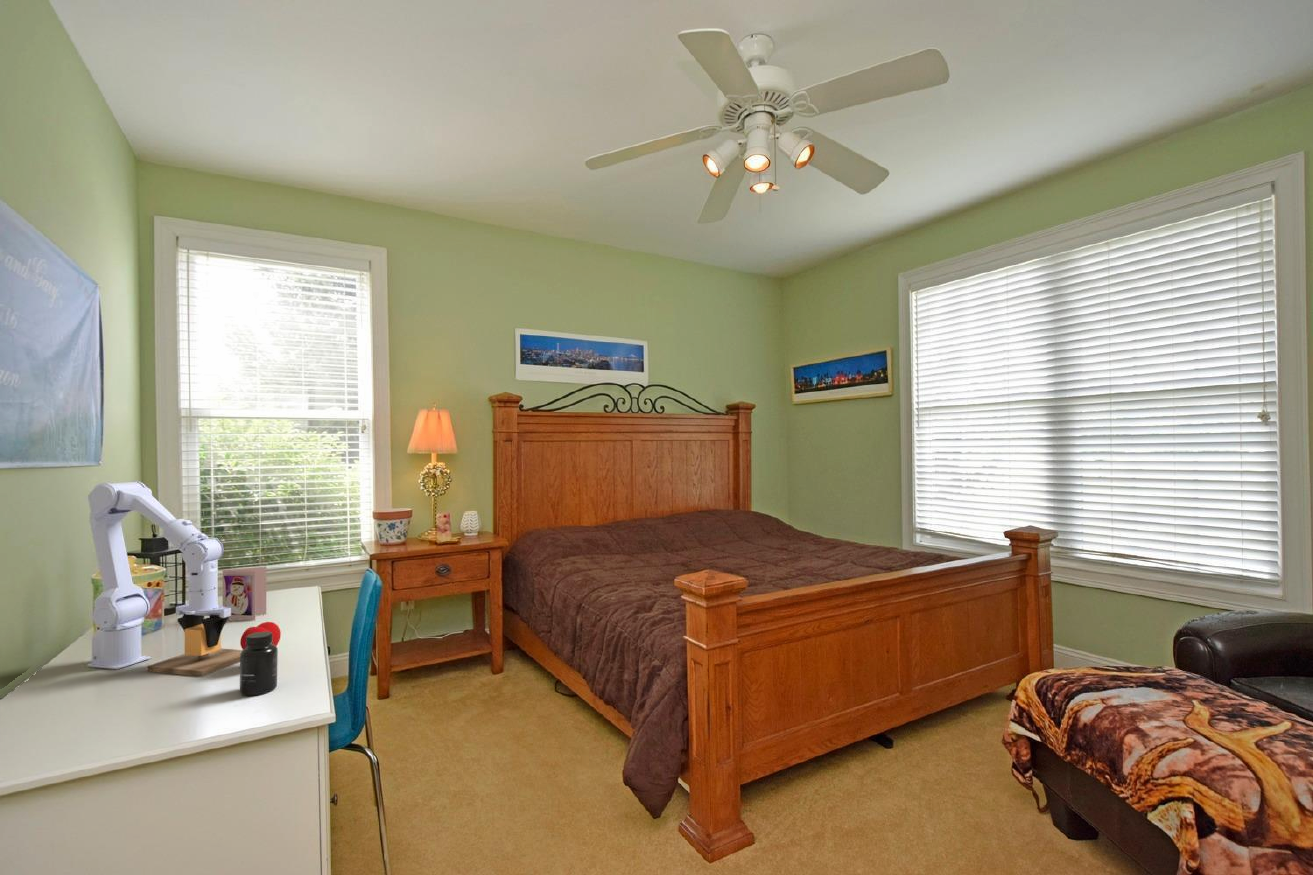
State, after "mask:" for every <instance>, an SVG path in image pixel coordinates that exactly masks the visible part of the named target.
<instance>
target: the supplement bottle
mask: <svg viewBox="0 0 1313 875" xmlns="http://www.w3.org/2000/svg"><path fill="white" fill-rule="evenodd" d="M272 638H273V634H272V632H257V633H252V634H249V635H248V636H246V646H247V647H246V648H245V649H244V650H243V649H242V650H243V651H242V652H241V654H240V662H239V694H240V695H242V696H245V697H257V696H261V695H265V694H268V693H270V692H272V691H274V690H276V688H277V686H278V664H279V663H278V662H279V661H278V660H279V659H278V658H279V657H278V654H279V651H278V647H277V646H275V645H274V644H271V643H272V642H273V639H272Z"/></svg>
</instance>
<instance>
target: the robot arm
mask: <svg viewBox="0 0 1313 875" xmlns="http://www.w3.org/2000/svg"><path fill="white" fill-rule="evenodd" d="M87 498H88V504H89V508H90V513H89V523H90V529H91V535H92V538H93V544H94V549H95V554H96V559H97V560H96V561H97V564H98V569H99V574H100V579H101V584H102V589H103V590H102V591H101V593H100V594H99V595H97V597H96V598H95V599H94V601H93V605H94V609H93V610H94V611H93V614H92V619H93V623H94V625H95V626H96V627H97V628H99V629H97V630H96V631H95V632H94V634H93V635H92V639H91V663H88V664H87V667H90V668H98V669H99V668H100V669H111V670H118V669H122V668H125V667H128V666H130V665H135V664H137V663H140V662H143V661H146V660H149V659H151V658H152V657H151V656H149V655H142V623H144V622H145V618H146V617H147V616H148V615H149V614H150V611H151V604H150V601H149V599H148V598H147V597H146V595H145V592H144V589H143V588H141V586H139V585H137V584H134V583H133V578H132V572H131V569H130V568H131V567H130V562H129V557H128V552H127V547H126V544H125V539H124V538H125V537H124V534H123V526H122V523H121V522H122V521H123V520H124V519H125V518H126V516H127V515H129V514H130V513H132V512H133V511H136V512H138V513H140V514H141V515H142V516H143V517H145V518H146V519H148V520H149V521H151V522H152V523H153V524H155V525H156V526H158V527H159V528H161V529H162V534H161V535H162V537H163V538H164V539H166V540H167V541H168V542H169V543H170V544H171V545H173V546H174V547H175V548H176V549H177V550H179V551H180V552H181V558H182V560H183V562H184V563H185V564H186V570H187V572H188V604H183V605H179V606H175V615H176V616H179V615H182V616H181V617H179V618H177V623H178V624H179V625H180V626H181V628H182V630H183V632H184V633H185V629H187V628H190V627H194V626H197V625H200V624H203V626H204V629H205V633H206V642H207V646H208V647H213V646H216V645H217V644H218V641H219V637H220V634H221V635H222V631H223V628H224V626H225V624H227V622H228V618H229V616H231V608H227V607H223V605H220V604H218V603H219V602H218V601H219V598H218V597H219V595H218V592H219V588H218V587H219V582H218V581H219V577H218V576H219V567H218V566H219V564H218V562H219V559H221V558H222V556H223V554H224V545H223V543H222V541H220V540H219V538H217V537H209V536H208V535H206V533H202V532H201V531H200V530H199V529H198V528H196V527H195V526H194V525H193V521H191V520H190V519H187V520H186V519H185V518H179V519H178V518H176V517H175V516H174V515H173V514H172V513H171V512H170V511H169V510H168V509H167V508H166V507H165V506H163V504H161V502H160V501H158V499H156V498H155V497H154V496H153V492H152V489H151V488H149V487H147V486H146V484H144V483H143V482H141V481H139V480H133V481H130V482H129V481H128V482H113V483H112V482H111V483H109V482H104V483H100V484H99V483H98V484H97V485H95V487H94V488H93V489H92V490H91V491H90V493H89V494H88V495H87ZM205 617H206V618H205Z"/></svg>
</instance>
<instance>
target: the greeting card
mask: <svg viewBox="0 0 1313 875" xmlns="http://www.w3.org/2000/svg"><path fill="white" fill-rule="evenodd" d="M222 606H223V607H227V608H231V616H229V618H228V619H241V620H240V621H252V620H255V621H256V616H255V615H258V616H262V615H261V614H266V615H267V566H259V567H246V568H236V569H235V568H233V569H223V570H222Z"/></svg>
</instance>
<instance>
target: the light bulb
mask: <svg viewBox="0 0 1313 875" xmlns="http://www.w3.org/2000/svg"><path fill="white" fill-rule="evenodd" d="M257 632H272V634H273V638H272V639H273V642H272V643H271V644H274V645H275V646H276V647H277V646H278V644H279V643H280V640H281V634H282V633H281V628H280V627H279V625H278V624H276V623H275V622H273V621H265V622H261V623H260V624H258V625H257V626H250V627H248V628H246V629H245V630H244V632H243V633H242V636H241V638H240V647H241V650H244V649H245V648H246V647H247V646H246V636H248V635H249V634H252V633H257Z"/></svg>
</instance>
